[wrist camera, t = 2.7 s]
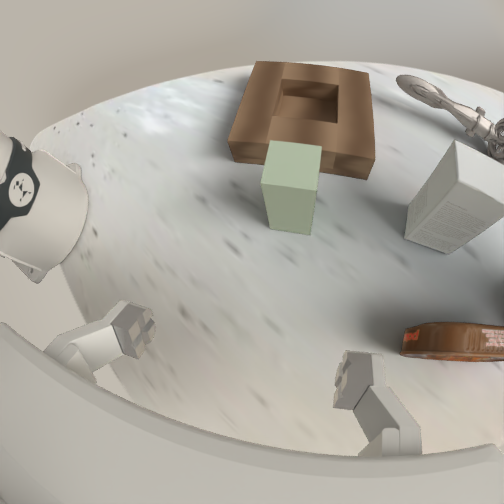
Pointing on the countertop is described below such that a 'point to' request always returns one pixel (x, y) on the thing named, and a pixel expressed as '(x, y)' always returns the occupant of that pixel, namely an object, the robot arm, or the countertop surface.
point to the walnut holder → (307, 115)
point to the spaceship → (457, 113)
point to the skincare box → (457, 200)
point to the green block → (291, 185)
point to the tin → (454, 342)
